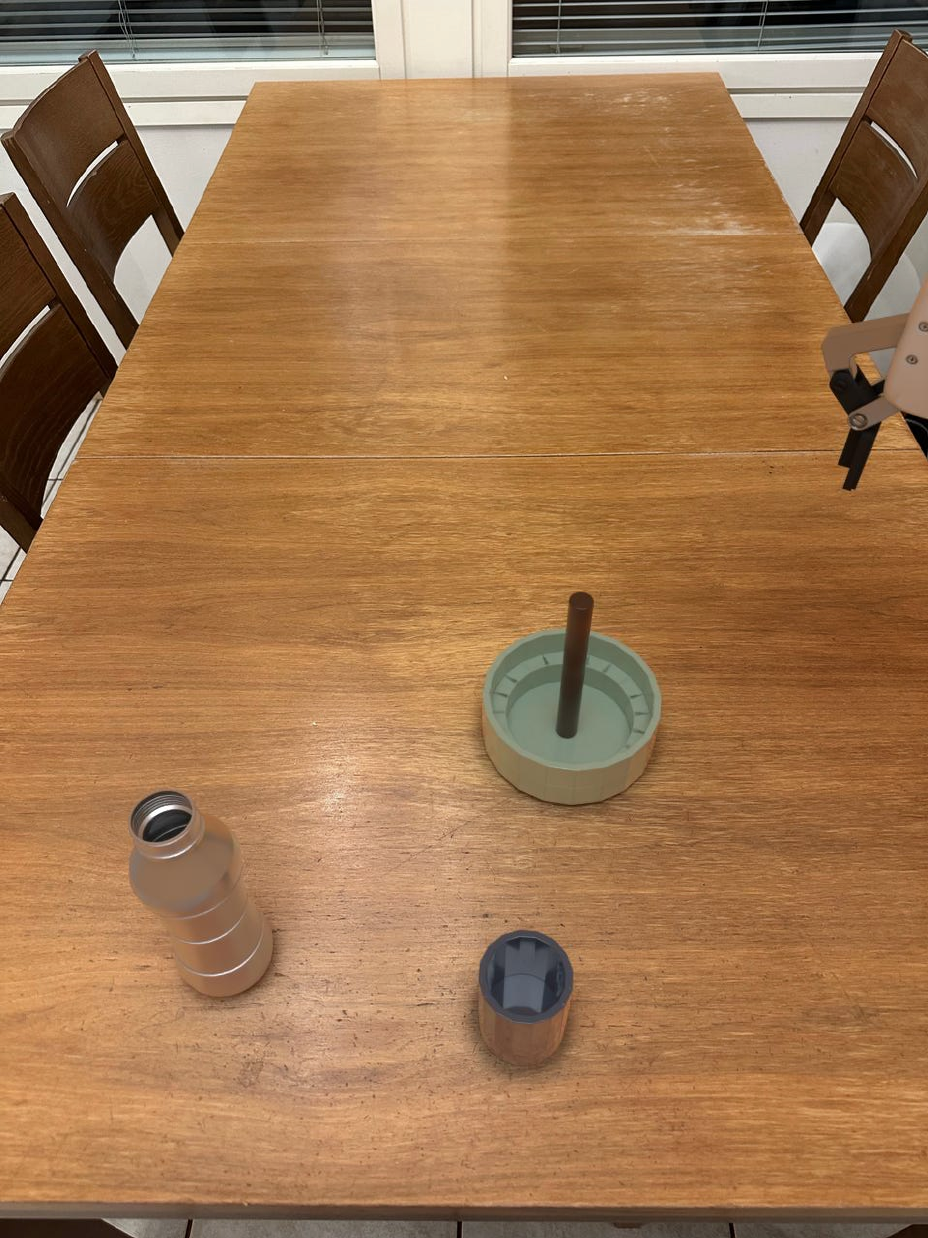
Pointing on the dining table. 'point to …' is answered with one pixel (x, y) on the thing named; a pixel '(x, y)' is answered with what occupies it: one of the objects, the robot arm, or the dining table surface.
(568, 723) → the stirring stick
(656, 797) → the dining table surface
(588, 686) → the bowl
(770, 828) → the dining table surface
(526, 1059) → the utensil pot
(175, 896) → the plastic bottle
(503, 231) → the dining table surface
